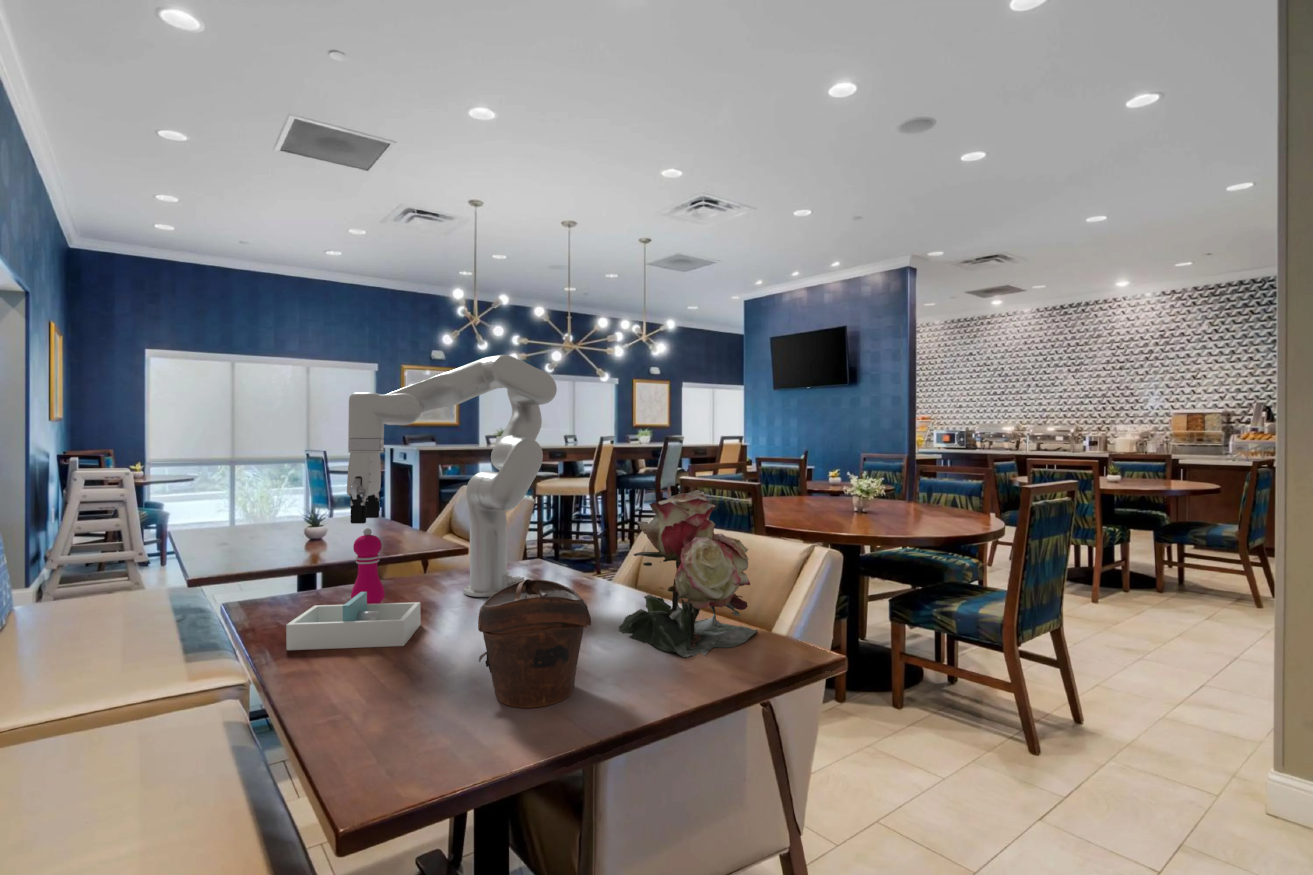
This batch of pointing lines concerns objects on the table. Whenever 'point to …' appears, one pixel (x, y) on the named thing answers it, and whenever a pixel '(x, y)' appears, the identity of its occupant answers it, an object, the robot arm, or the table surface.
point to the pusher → (358, 609)
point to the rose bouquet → (691, 579)
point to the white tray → (353, 627)
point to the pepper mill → (368, 568)
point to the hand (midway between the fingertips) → (365, 520)
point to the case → (533, 641)
